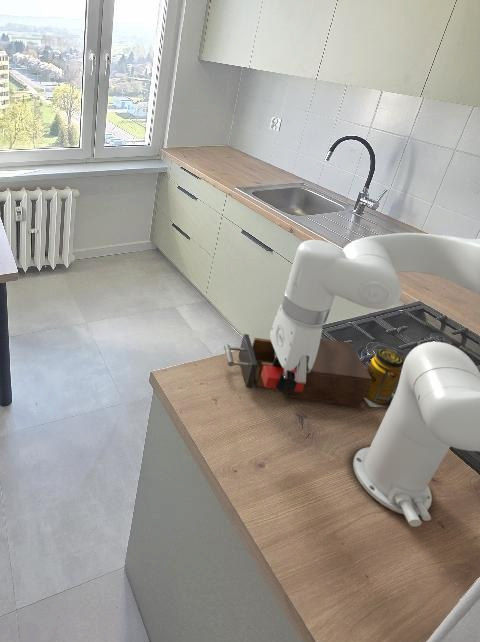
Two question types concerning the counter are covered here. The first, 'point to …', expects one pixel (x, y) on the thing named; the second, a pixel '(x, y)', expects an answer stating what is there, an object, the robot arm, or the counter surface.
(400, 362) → the condiment
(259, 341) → the drawer
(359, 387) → the cabinet
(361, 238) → the robot arm
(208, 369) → the counter surface
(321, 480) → the counter surface
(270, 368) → the red rectangular block
